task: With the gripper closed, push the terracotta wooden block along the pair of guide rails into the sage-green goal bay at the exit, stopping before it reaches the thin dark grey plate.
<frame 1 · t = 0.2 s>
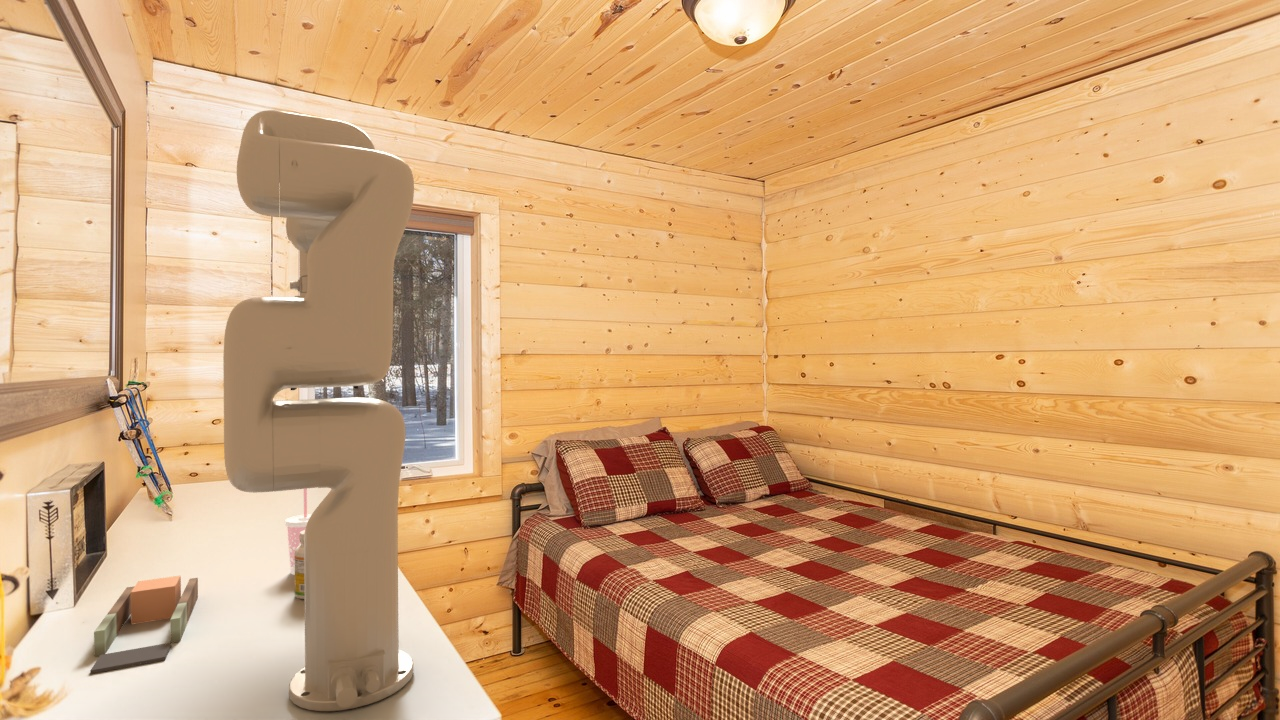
hand: (325, 389, 111), 31 cm above the cabinet, fingers open, 9 cm apart
thin dark grey plate: (132, 659, 78), on the cabinet
block: (156, 615, 92), on the cabinet
pair of guide rails: (151, 623, 89), on the cabinet
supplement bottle: (314, 595, 100), on the cabinet
beverage cup: (306, 571, 111), on the cabinet
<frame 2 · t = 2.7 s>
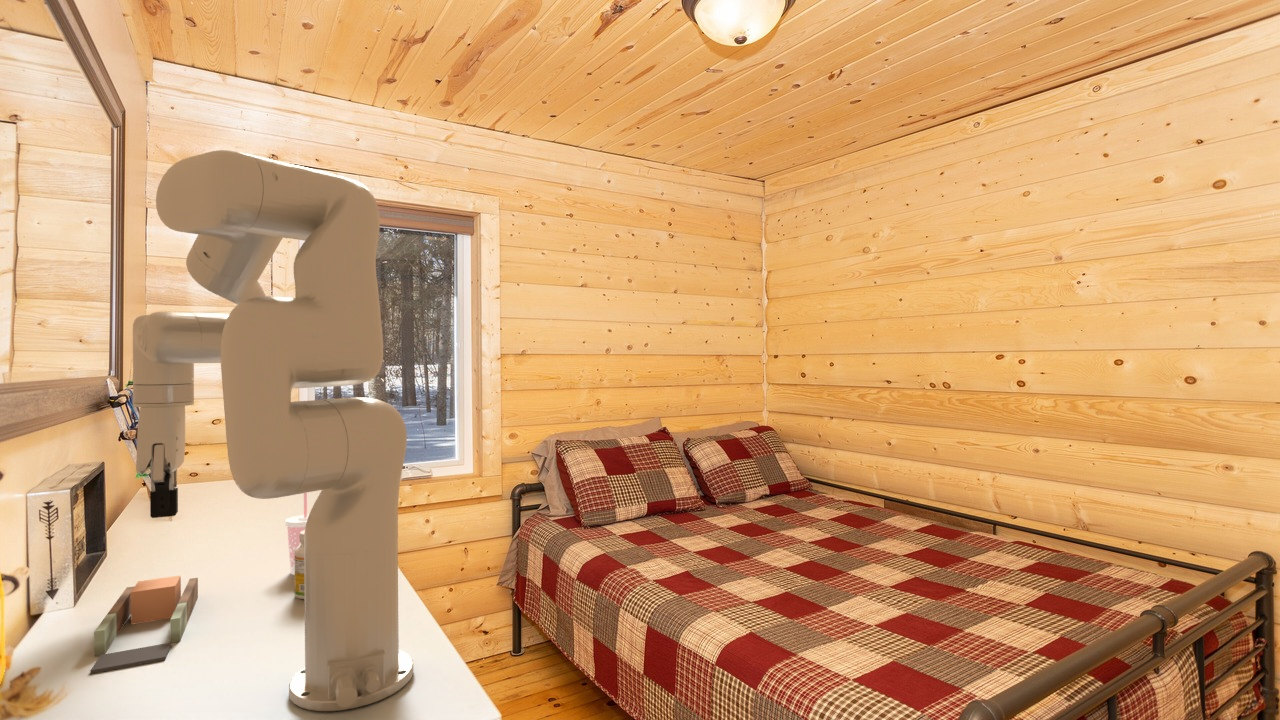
hand: (164, 515, 99), 12 cm above the cabinet, fingers closed
nothing on the cabinet moved.
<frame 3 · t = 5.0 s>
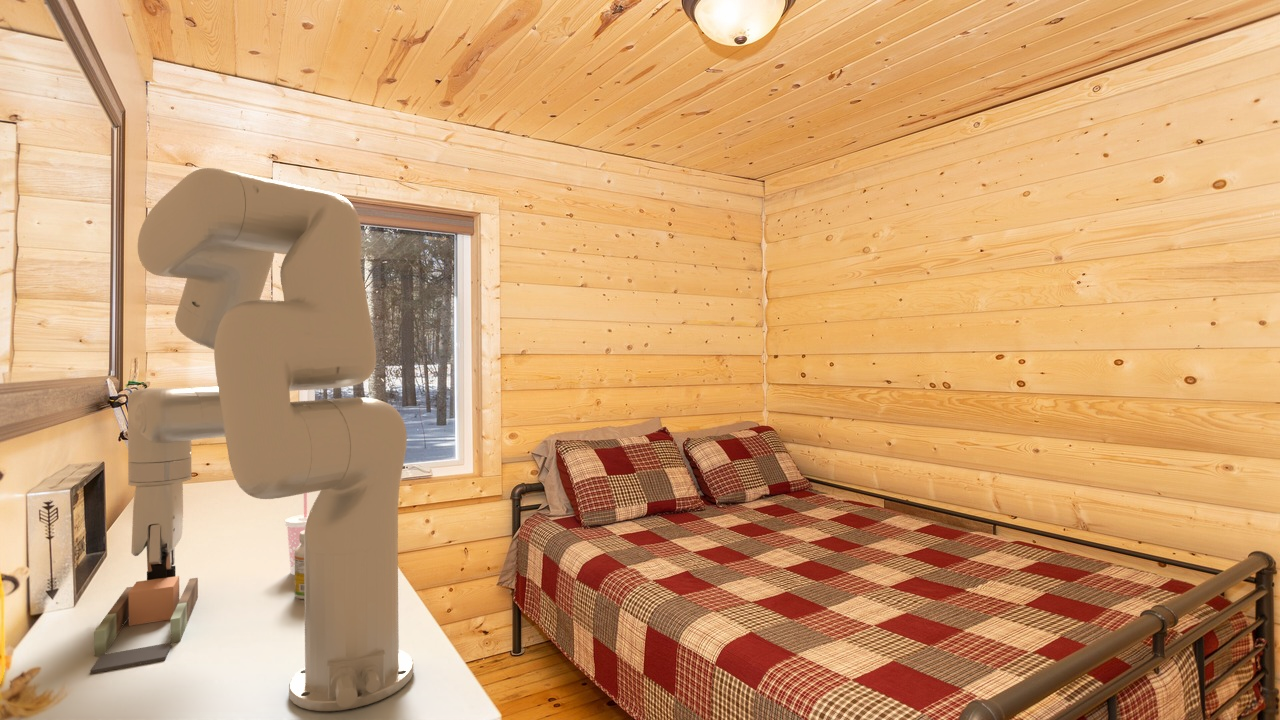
hand: (161, 595, 96), 1 cm above the cabinet, fingers closed
block: (155, 615, 91), on the cabinet, touching gripper
everything else where it was.
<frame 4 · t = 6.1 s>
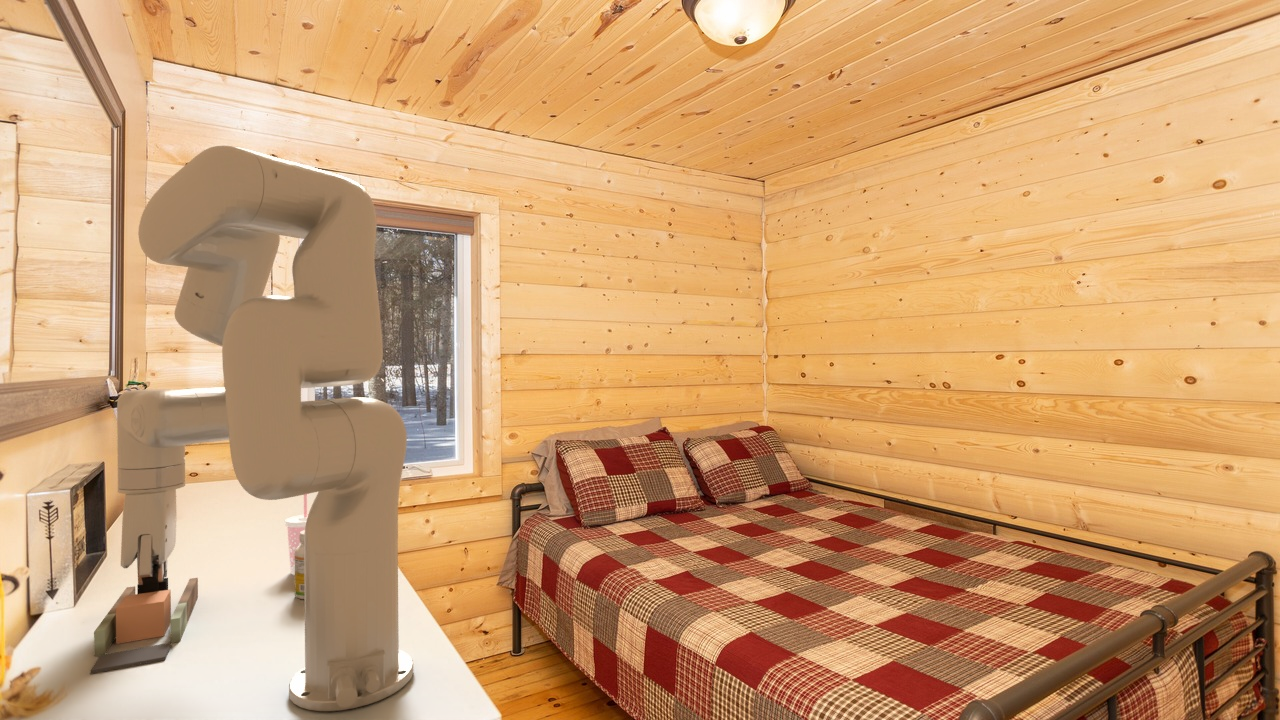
hand: (153, 609, 90), 1 cm above the cabinet, fingers closed
block: (144, 632, 86), on the cabinet, touching gripper
everything else where it was.
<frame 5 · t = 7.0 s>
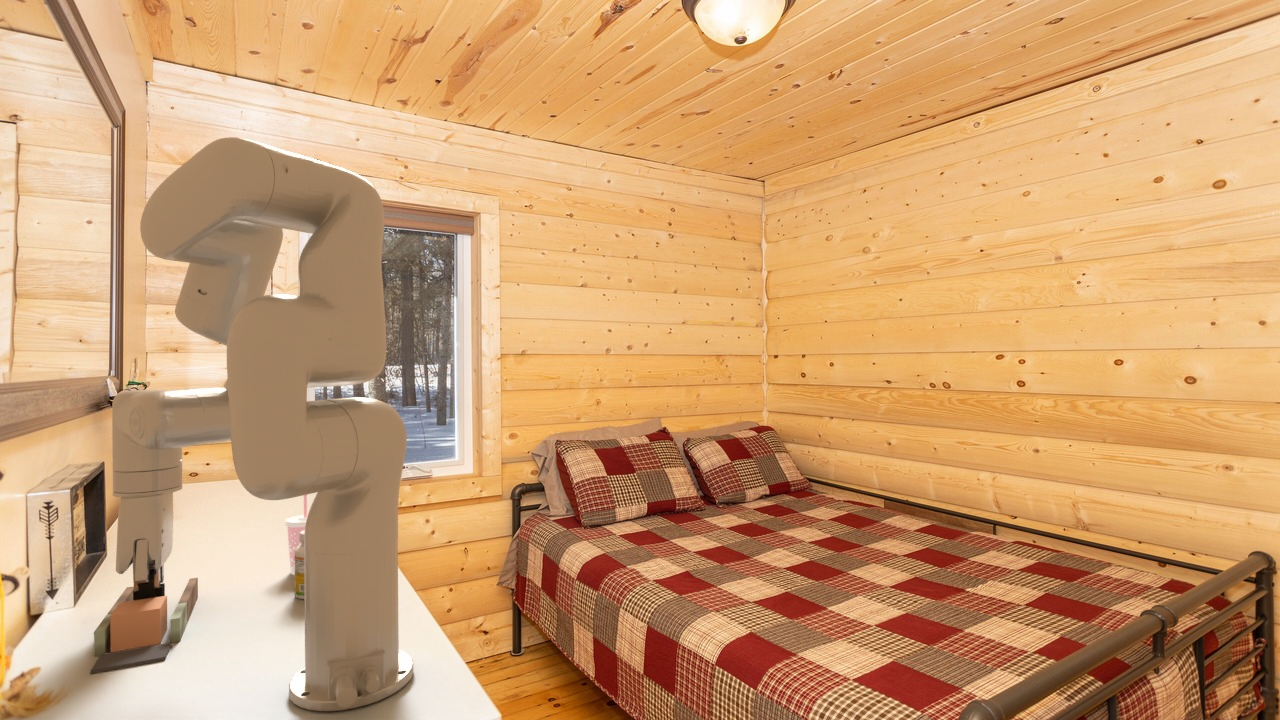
hand: (149, 616, 88), 1 cm above the cabinet, fingers closed
block: (140, 640, 84), on the cabinet, touching gripper
everything else where it was.
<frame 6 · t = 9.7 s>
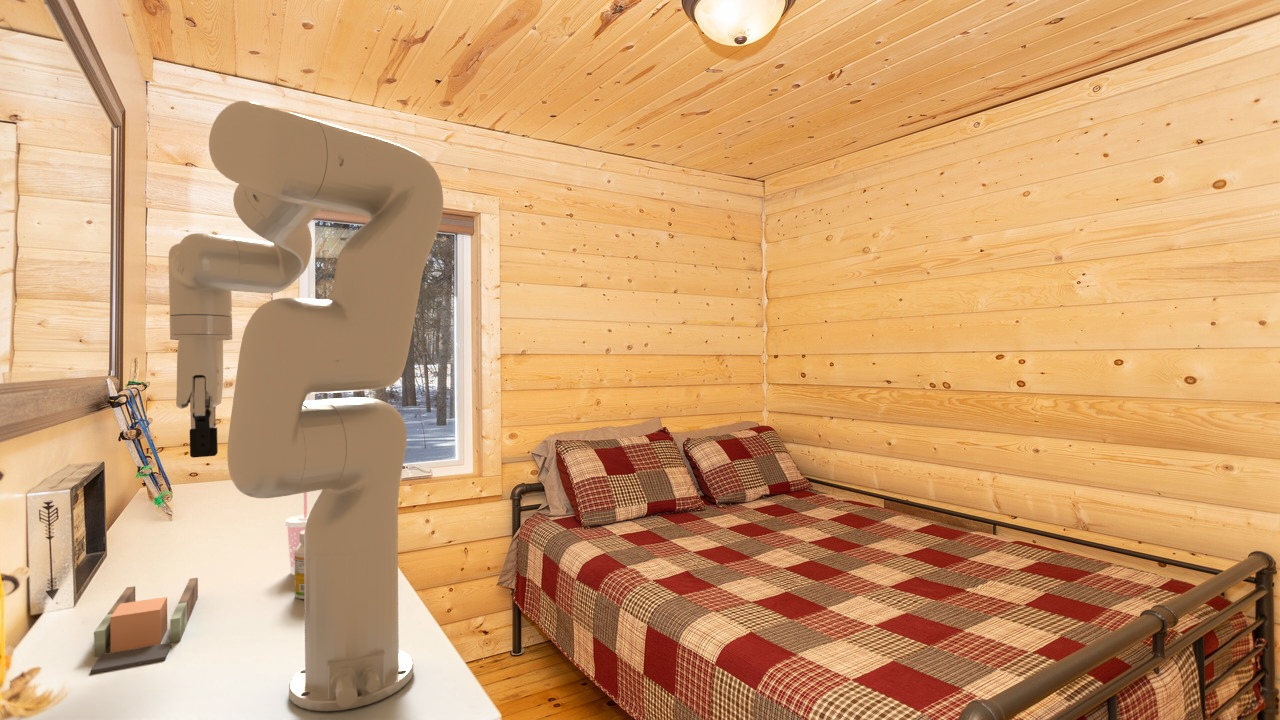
hand: (204, 455, 94), 22 cm above the cabinet, fingers closed
block: (140, 641, 84), on the cabinet
everything else where it was.
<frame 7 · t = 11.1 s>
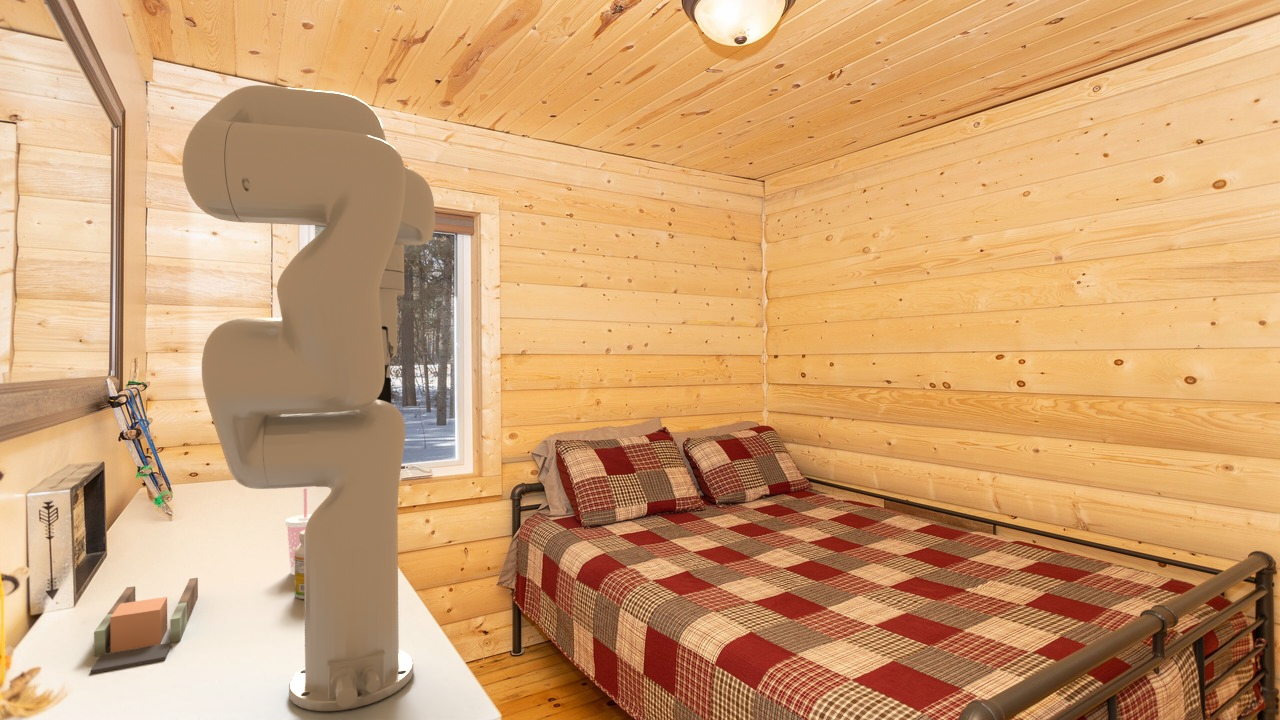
hand: (379, 404, 100), 29 cm above the cabinet, fingers closed
nothing on the cabinet moved.
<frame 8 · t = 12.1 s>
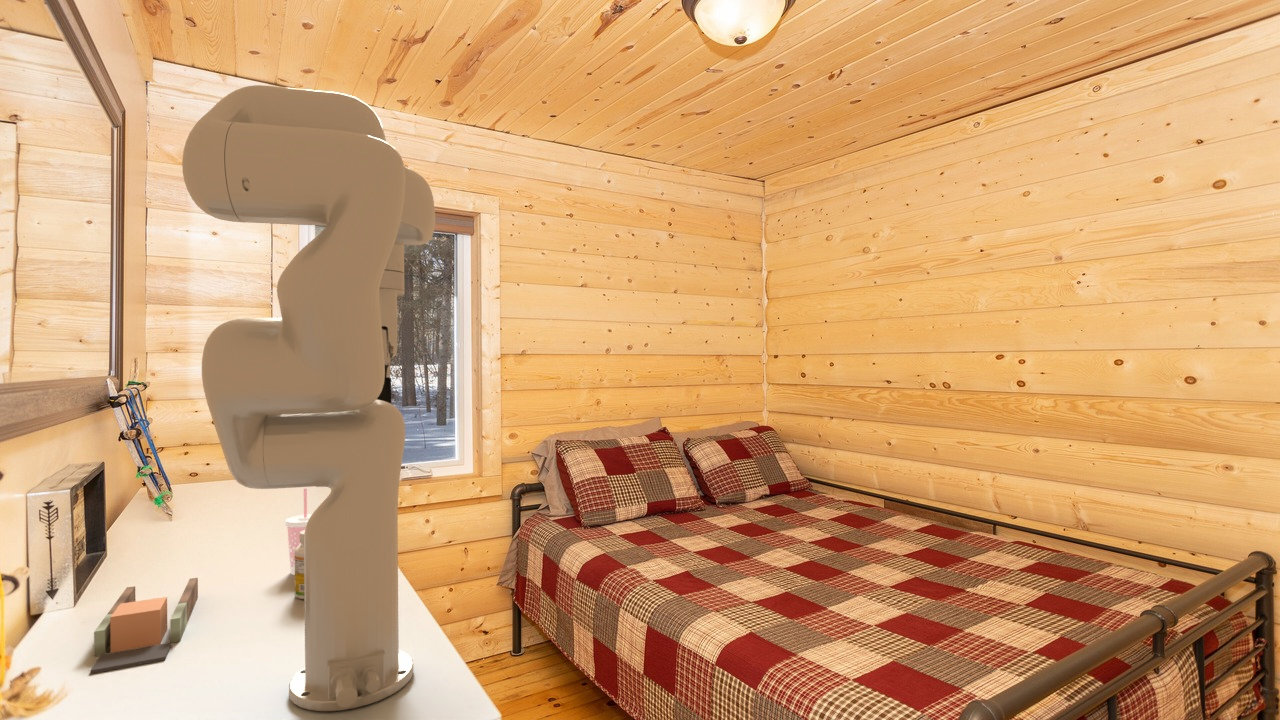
hand: (379, 404, 100), 29 cm above the cabinet, fingers closed
nothing on the cabinet moved.
at the end: block 1.8 cm from the target spot, on the cabinet; block tilted 0°; block touching cabinet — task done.
